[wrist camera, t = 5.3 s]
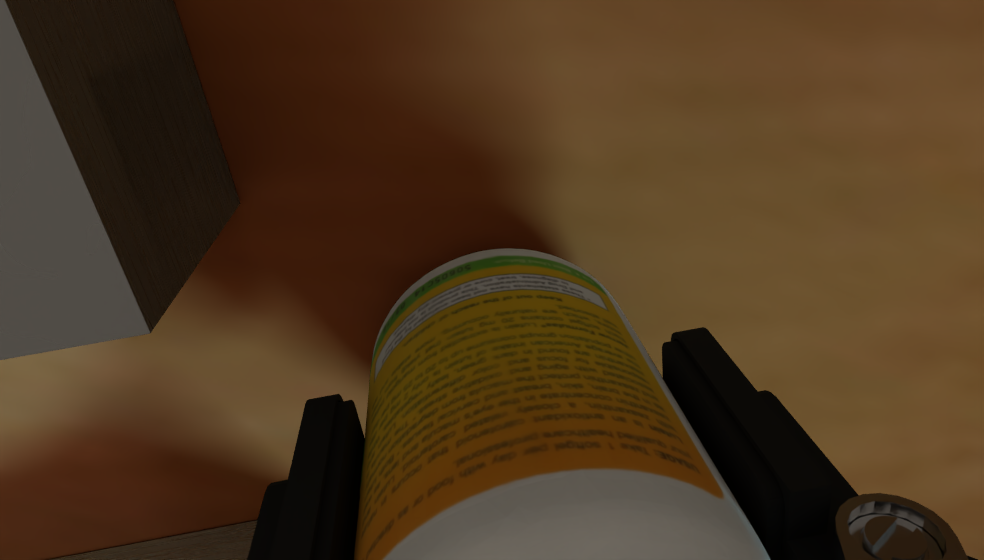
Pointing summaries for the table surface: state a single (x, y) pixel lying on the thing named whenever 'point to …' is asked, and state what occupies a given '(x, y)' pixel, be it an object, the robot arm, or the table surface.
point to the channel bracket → (105, 191)
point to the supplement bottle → (531, 428)
